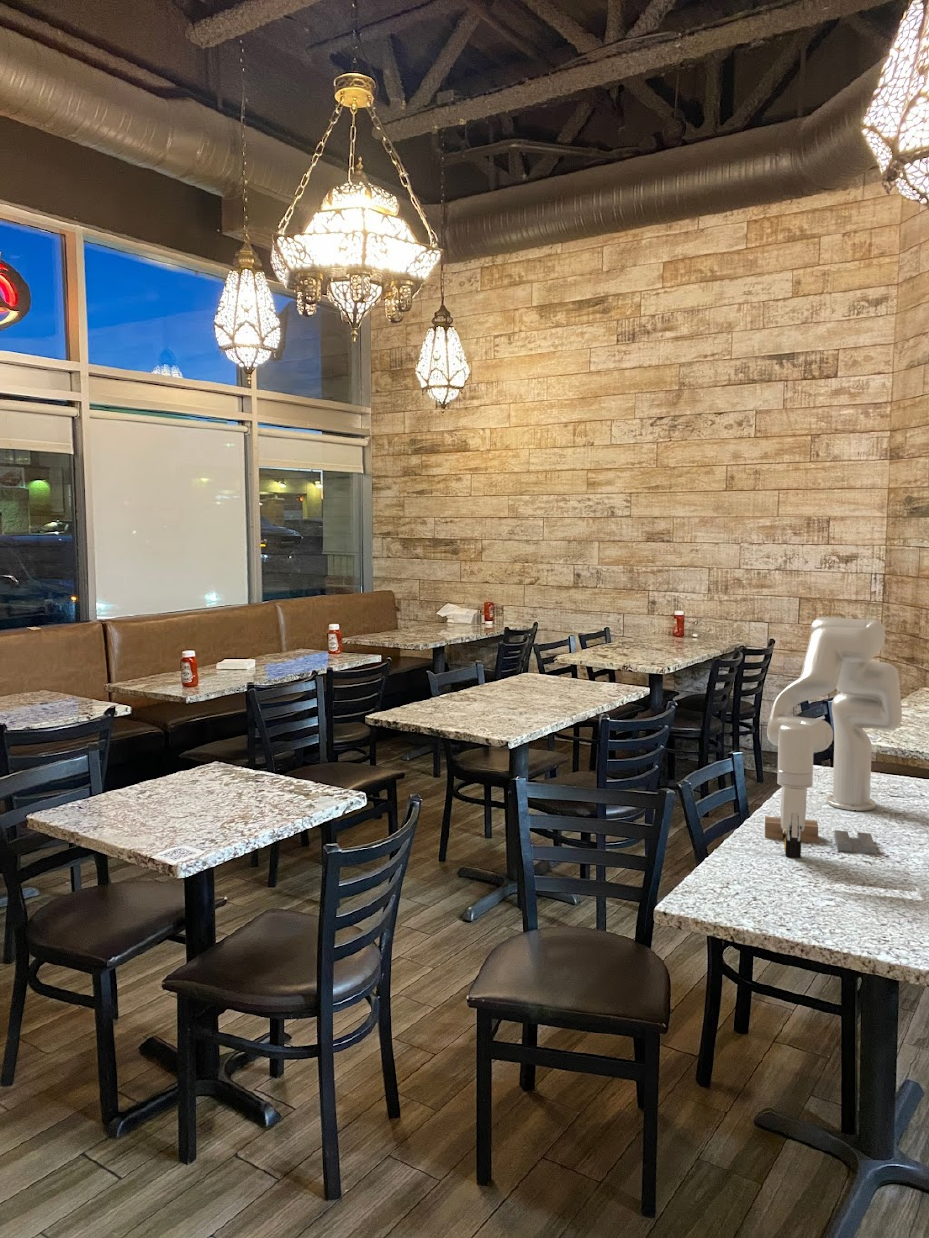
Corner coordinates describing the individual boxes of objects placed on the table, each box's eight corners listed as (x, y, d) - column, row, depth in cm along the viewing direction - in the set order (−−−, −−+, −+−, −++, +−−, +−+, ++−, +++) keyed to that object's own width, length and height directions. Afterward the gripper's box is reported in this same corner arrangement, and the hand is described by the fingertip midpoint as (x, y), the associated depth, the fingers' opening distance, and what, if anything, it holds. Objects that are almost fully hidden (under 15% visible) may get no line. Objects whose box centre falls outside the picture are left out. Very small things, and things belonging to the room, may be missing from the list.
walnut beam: (764, 835, 219) (765, 816, 218) (816, 840, 215) (817, 820, 214) (764, 842, 214) (765, 822, 213) (817, 847, 210) (818, 826, 210)
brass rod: (784, 839, 217) (782, 827, 217) (797, 838, 216) (795, 826, 216) (786, 859, 204) (783, 846, 204) (799, 857, 203) (797, 845, 203)
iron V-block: (834, 842, 213) (834, 830, 213) (870, 845, 211) (870, 833, 211) (837, 856, 204) (838, 843, 204) (875, 859, 201) (875, 847, 201)
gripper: (776, 768, 208) (775, 844, 209) (778, 785, 193) (776, 866, 195) (810, 771, 205) (808, 847, 207) (814, 788, 191) (812, 869, 193)
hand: (793, 856), depth 201 cm, fingers closed
